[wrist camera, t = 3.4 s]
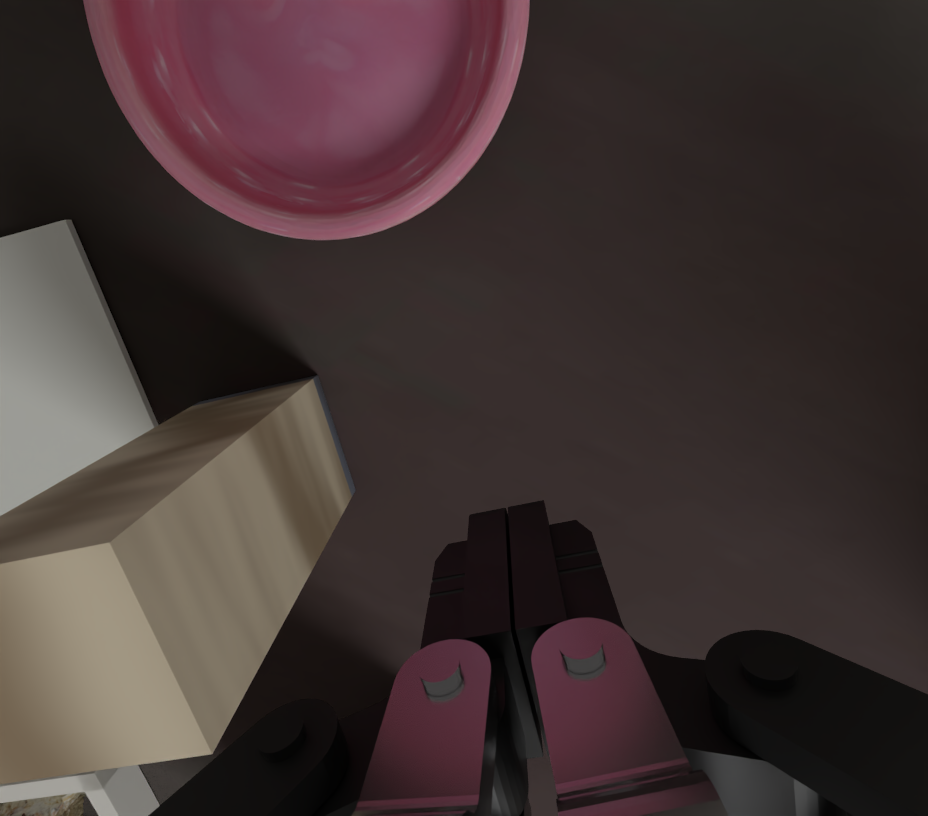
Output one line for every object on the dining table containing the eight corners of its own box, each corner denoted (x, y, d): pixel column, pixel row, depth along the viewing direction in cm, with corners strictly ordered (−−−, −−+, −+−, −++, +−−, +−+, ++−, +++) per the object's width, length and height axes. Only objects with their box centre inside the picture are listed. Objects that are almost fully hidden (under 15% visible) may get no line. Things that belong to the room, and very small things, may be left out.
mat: (71, 219, 20) (65, 219, 20) (259, 662, 26) (256, 666, 25) (-286, 319, 22) (-296, 321, 21) (-37, 710, 27) (-43, 715, 27)
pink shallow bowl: (436, -300, 15) (422, -431, 12) (576, 155, 18) (592, 139, 15) (70, -86, 17) (-20, -154, 14) (255, 291, 20) (214, 300, 17)
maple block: (317, 374, 21) (109, 542, 10) (355, 490, 23) (212, 754, 11) (199, 401, 22) (-128, 589, 10) (243, 512, 23) (-1, 784, 12)
